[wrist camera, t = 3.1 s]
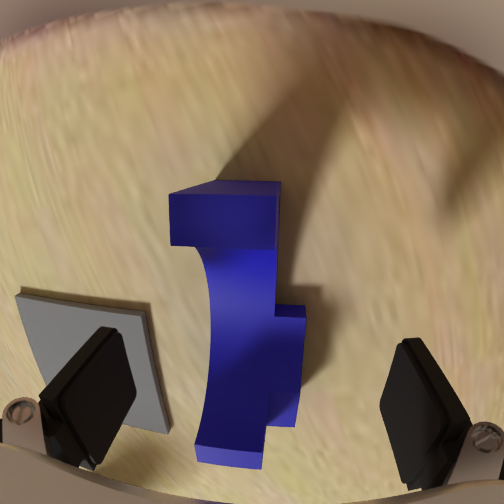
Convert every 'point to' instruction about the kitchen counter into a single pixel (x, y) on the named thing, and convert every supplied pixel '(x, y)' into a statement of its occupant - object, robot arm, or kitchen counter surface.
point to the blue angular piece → (242, 317)
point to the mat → (78, 332)
